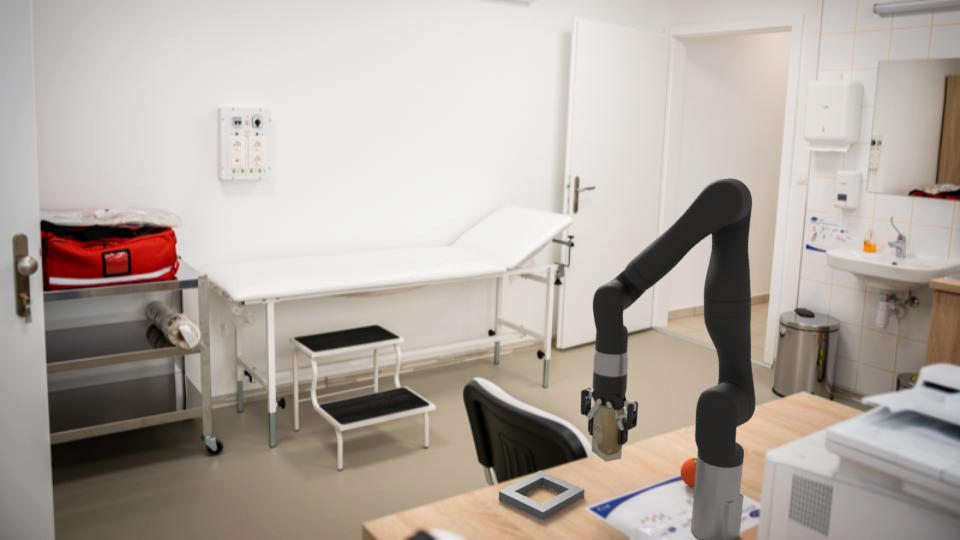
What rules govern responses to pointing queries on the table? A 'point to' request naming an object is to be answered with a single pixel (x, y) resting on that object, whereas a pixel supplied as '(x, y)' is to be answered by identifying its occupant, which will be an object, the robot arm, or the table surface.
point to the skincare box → (606, 434)
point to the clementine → (689, 472)
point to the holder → (548, 508)
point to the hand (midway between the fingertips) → (607, 439)
